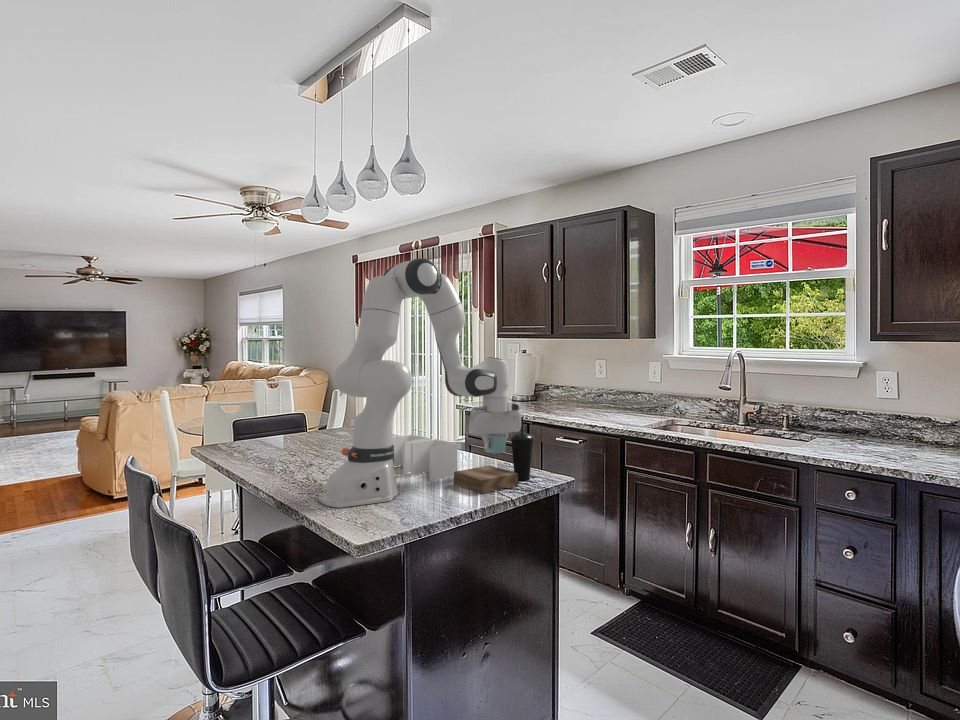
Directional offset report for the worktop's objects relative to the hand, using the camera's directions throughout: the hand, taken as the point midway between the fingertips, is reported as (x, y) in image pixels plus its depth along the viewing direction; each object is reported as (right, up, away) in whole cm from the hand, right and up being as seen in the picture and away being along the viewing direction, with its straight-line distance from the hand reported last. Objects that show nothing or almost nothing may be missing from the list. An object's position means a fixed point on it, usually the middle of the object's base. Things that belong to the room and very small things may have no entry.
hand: (495, 446), depth 187 cm
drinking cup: (+9, -9, -7) cm, 15 cm away
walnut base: (-3, -9, -16) cm, 19 cm away
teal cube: (0, -2, 0) cm, 2 cm away
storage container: (-25, -9, +3) cm, 27 cm away
